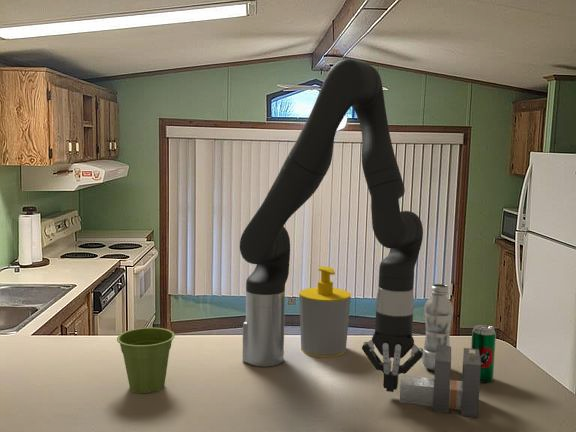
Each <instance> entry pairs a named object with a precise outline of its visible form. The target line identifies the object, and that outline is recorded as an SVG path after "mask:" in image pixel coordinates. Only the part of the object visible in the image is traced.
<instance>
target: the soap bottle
mask: <svg viewBox="0 0 576 432" xmlns="http://www.w3.org/2000/svg"><path fill="white" fill-rule="evenodd" d="M317 271H320V280H318V281H317V287H316V286H315V287H309V288H304V289H302V290H300V291H299V293H298V297H299V299H298V300H299V321H300V325H299V326H300V327H299V328H300V350H301V352H303V353H304V354H306V355H308V356H311V357H317V358H337V357H340V356H343V355H344V354H345V353H346V352H347V342H348V330H349V318H350V307H351V297H352V295H351V292H350V291H347V290H345V289H342V288H336V287H334V281H332V280H331V275H333V276H334V275H335V274H336V273H335V270H334V268H333V267H330V266H320V267H318V270H317Z"/></svg>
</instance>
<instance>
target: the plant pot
mask: <svg viewBox="0 0 576 432" xmlns="http://www.w3.org/2000/svg"><path fill="white" fill-rule="evenodd" d="M175 337H176V334H175V332H173V331H172V330H170V329H168V328H162V327H140V328H134V329H130V330H127V331H124V332H122V333H120V334H119V335H118V336H117V337H116V341H117V343H119V346H120V351H121V353H122V355H123V361H124V365H125V370H126V374H127V382H128V384H129V385H128V386H129V388H130V390H131V391H132V392H134V393H138V394H147V393H149V392H158V391H160V390H162V389H163V388H164V387H165V385H166V378H167V377H166V376H167V369H168V363H169V357H170V350H171V349H172V342H173V340H174V339H175Z"/></svg>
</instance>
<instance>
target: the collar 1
mask: <svg viewBox="0 0 576 432" xmlns="http://www.w3.org/2000/svg"><path fill="white" fill-rule="evenodd" d="M451 368H452V346H451V345H450V346H440V345H436V357H435V370H434V374H433V378H434V395H433V406H432V412H433V413H440V414H449V410H450V409H449V393H450V380H451V372H452V371H451V370H452V369H451Z"/></svg>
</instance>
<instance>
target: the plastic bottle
mask: <svg viewBox="0 0 576 432" xmlns="http://www.w3.org/2000/svg"><path fill="white" fill-rule="evenodd" d="M430 294H431V296H430V297H429V298H427V300H426V302H425V304H424V306H423V311H424V321H425V337H424V338H425V339H424V347H423V356H422V358H421V359H422V364H423V366H424V367H425V369H428V370H431V371H435V357H436V345H440V346H450V347H451V343H450V341H451V339H450V337H451V336H450V334H451V333H450V332H451V323H452V319H453V313H454V307H453V304H452V302H451V300H450V299H449V297H448V295H449V285H447V284H444V283H443V284H441V283H434V284H431V290H430Z"/></svg>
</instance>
